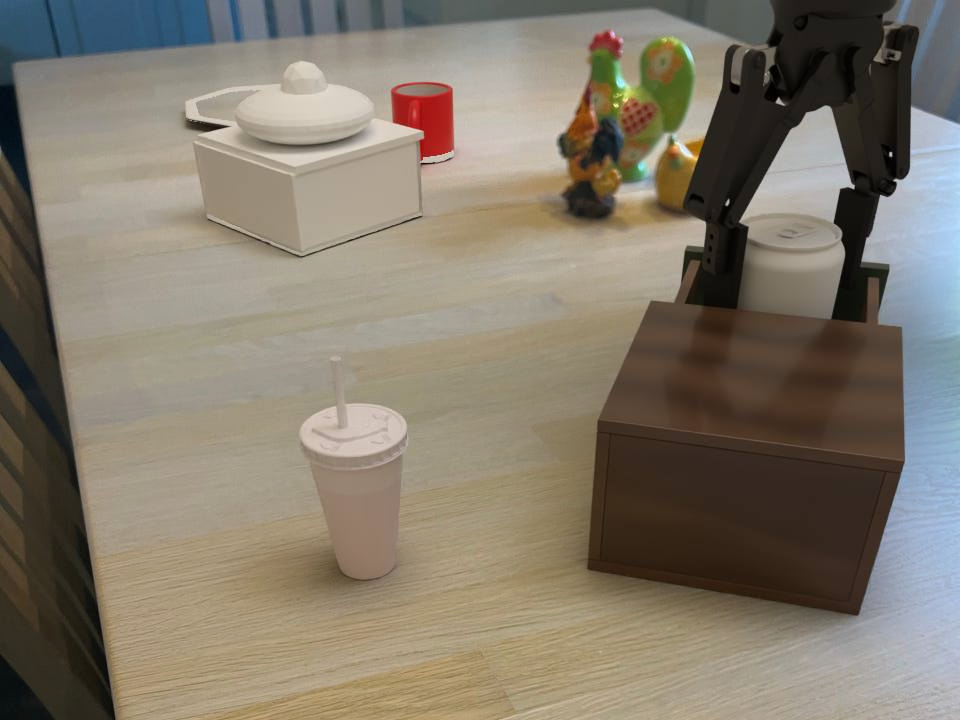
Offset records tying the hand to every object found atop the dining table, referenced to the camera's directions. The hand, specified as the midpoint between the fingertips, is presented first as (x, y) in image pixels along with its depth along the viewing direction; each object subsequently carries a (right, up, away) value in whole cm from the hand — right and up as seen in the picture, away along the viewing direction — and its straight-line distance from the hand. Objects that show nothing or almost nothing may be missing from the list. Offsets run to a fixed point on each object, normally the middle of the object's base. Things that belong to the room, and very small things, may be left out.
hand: (780, 299), depth 74 cm
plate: (-53, +53, +76) cm, 107 cm away
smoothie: (-29, -20, -9) cm, 36 cm away
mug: (-29, +38, +58) cm, 75 cm away
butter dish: (-41, +23, +42) cm, 62 cm away
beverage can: (0, -5, +5) cm, 7 cm away
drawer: (0, -5, +7) cm, 8 cm away
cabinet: (-5, -16, -5) cm, 18 cm away
